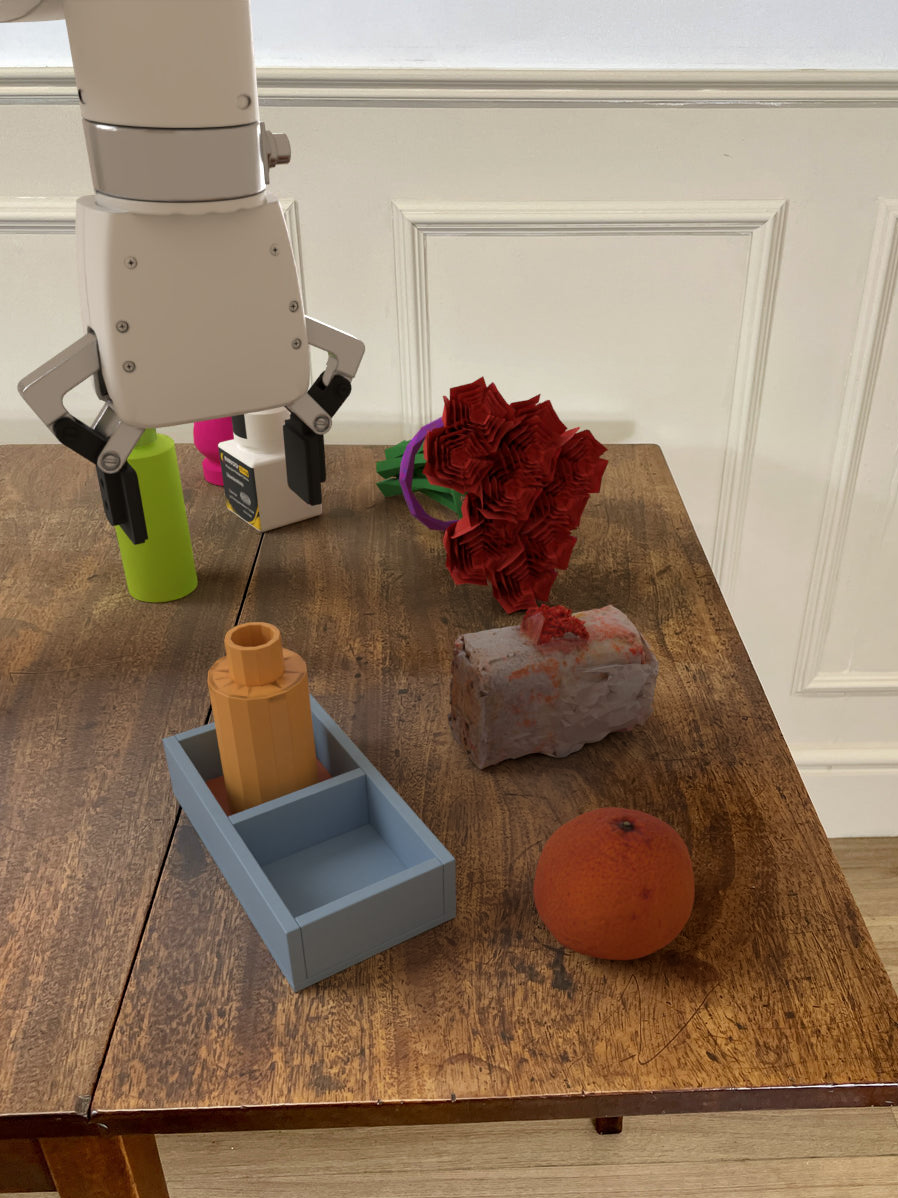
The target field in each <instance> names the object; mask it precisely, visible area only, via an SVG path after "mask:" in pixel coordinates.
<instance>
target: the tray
mask: <svg viewBox="0 0 898 1198" xmlns="http://www.w3.org/2000/svg"><path fill="white" fill-rule="evenodd" d="M309 696H310V705H311V715H312V724H313V733H314V743H315V752H316V762H317V771H318V780H319V783H317V784H314V785H312V786H309V787H306V788H304V789H301V790H298V791H296V792H293V793H290V794H288V795H285V796H282V797H280V798H277V799H274V800H272V801H269V802H266V803H263V804H261V805H258V806H255V807H253V808H250V809H247V810H245V811H242V812H239V813H237V814H234V815H232V813H231V810H230V806H229V803H228V797H227V792H226V786H225V780H224V774H223V768H222V763H221V757H220V751H219V745H218V739H217V734H216V728H215V722H214V721H212V722H210V723H207V724H204V725H201V726H198V727H195V728H191V729H188V730H185V731H183V732H179V733H176V734H173V735H170V736H167V737H164V738H162V740H161V741H162V744H163V749H164V755H165V758H166V759H165V760H166V765H167V768H168V773H169V778H170V785H171V786H172V792H173V796H174V797H175V799H176V800H177V802H178V804H179V805H180V807H181V809H182V810H183V812H184V814H185V815H186V817H187V818H188V819H189V822H190V823H191V825H192V826H193V828H194V830H195V831H196V833H197V835H198V836H199V838H200V840H201V841H202V843H203V845H204V846H205V848H206V850H207V851H208V853H209V854H210V856H211V858H212V859H213V861H214V863H215V864H216V866H217V868H218V870H219V871H220V873H221V874H222V876H223V877H224V879H225V881H226V882H227V884H228V886H229V888H230V889H231V891H232V893H233V894H234V895H235V897H236V899H237V901H238V902H239V904H240V905H241V907H242V909H243V910H244V912H245V913H246V915H247V917H248V919H249V920H250V922H251V923H252V926H253V927H254V928H255V930H256V932H257V933H258V935H259V937H260V938H261V940H262V942H263V943H264V945H265V946H266V948H267V951H269V953H270V955H271V956H272V958H273V960H274V961H275V963H276V965H277V966H278V968H279V969H280V971H281V973H282V974H283V976H284V978H285V979H286V980H287V983H288V985H289V986H290V988H291V989H292V991H293V993H297V992H300V991H301V990H304V989H306V988H308V987H310V986H312V985H314V984H317V983H319V982H321V981H323V980H325V979H327V978H329V977H332V976H334V975H336V974H338V973H341V972H342V971H345V970H346V969H348V968H349V969H350V968H351V967H353V966H355V965H357V964H359V963H362V962H363V961H366V960H367V959H370V958H372V957H375V956H376V955H378V954H380V953H382V952H385V951H387V950H389V949H391V948H393V947H395V946H397V945H400V944H402V943H404V942H406V941H408V940H410V939H413V938H414V937H416V936H419V935H421V934H423V933H425V932H427V931H429V930H432V929H433V928H436V927H439V925H442V924H444V923H446V922H448V921H451V920H452V919H455V918H457V880H456V879H457V877H456V873H457V872H456V858H455V857H454V856H453V855H452V853H451V852H450V851H449V850H448V849H447V848H446V847H445V845H444V844H443V843H442V842H441V841H440V840H439V839H438V838H437V836H436V835H435V834H434V833H433V832H432V831H431V830H430V828H429V827H428V826H427V825H426V824H425V823H424V821H423V820H422V819H421V818H420V816H418V815H417V814H416V812H415V811H414V810H413V809H412V808H411V807H410V805H409V804H407V802H406V801H405V799H403V797H402V796H401V795H400V794H399V793H398V792H397V790H396V789H395V788H394V787H393V786H392V785H391V784H390V783H389V782H388V780H387V779H386V778H385V777H384V776H383V774H381V772H380V771H379V770H378V769H377V768H376V767H375V766H374V764H373V763H372V762H371V761H370V760H369V759H368V757H366V755H365V754H364V753H363V752H362V751H361V749H359V748H358V746H357V745H356V744H355V743H354V741H352V740H351V738H350V737H349V736H348V734H347V733H346V732H344V730H343V729H342V728H341V727H340V726H339V725H338V724H337V722H336V721H335V720H334V719H333V718H332V716H331V715H330V714H329V713H328V712H327V711H326V710H325V709H324V708H323V707H322V705H321V704H320V703H319V702H318V700H317V699H316V698H315V697H314V696H313V695H312V694H311V692H309Z"/></svg>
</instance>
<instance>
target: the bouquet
mask: <svg viewBox="0 0 898 1198" xmlns="http://www.w3.org/2000/svg"><path fill="white" fill-rule="evenodd" d="M541 396H542V395H541V393H539V394H536V395H535V396H532V397H530V398H528V399H525V400H519V401H518V400H517V401H514V402H513V401H512V402H510V403H509V402H507V401H506V399H505V397H504V396H503V395H502V394H501V392H500V390H499V389H498V387H497V386H496V384H495V382H494V381H491V383H490V384H489V385H487V383H486V380H485V377H484V375H483V376H481V377H479V378H477V379H476V380H474V381H473V382H470V383H465V384H461V385H457V386H453V387H449V398H448V397H447V395H442V399H443V403H444V405H443V409H442V415H441V416H440V417H438V418H436V419H434V420H432V421H430V422H429V423H426V424H425V425H423V426H421V427H420V429H419V430H418V431H417V432H416V433H415V435H414V436H413V437H412V438H411V439H408V440H406V439H404V440H401V441H400V442H398V443H397V444H395V445H393V446H391V447H388V448H385V449H384V457H385V459H384V460H380V461H375V464H376V465H375V472H376V474H378V475H379V476H380V477H382V479H384V480H381V481H378V482H375V485H376V486H377V488H378V489H379V491H380V493H381V494H382V495H383V496H384V498H390V497H397V496H401V495H403V497H404V500H405V502H406V503H405V504H406V505H407V508H408V510H409V512H410V516H412V517H413V518H415V519H416V520H417V521H419V523H421V524H423V526H425V527H426V528H428V529H429V530H431V531H438V532H444V535H443V538H442V543H443V544H442V545H443V548H444V550H445V552H446V554H445V568H446V569H447V570H448V572H449V575H450V576H449V577H451V578H452V581H453V582H454V584H455V585H456V586H457V585H466V584H469V585H475V586H477V585H478V586H483V587H488V586H489V584H488V583H490V584H491V590H492V597H493V598H494V599H495V600H496V601H497V603H499V605H500V607H501V608H503V610H504V611H505V612H506V613H507V615H509V614H511V613H514V612H517V611H520V610H528V609H529V608H536V607H539V606H538V603H537V601H540V602H544V603H548V602H549V598H550V593H551V589H552V587H553V586H554V584H555V581H556V579H557V577H558V576H559V571H557V570H562V571H567V569H568V567H569V564H570V560H571V557H572V553H573V549H574V547H575V545H576V544H577V542H578V537H576V536H574V535H572V534H573V533H572V532H571V531H574V530H578V529H579V528H580V525H581V519H582V515H583V513H584V510H585V508H586V506H587V504H588V502H589V499H590V498H592V497H591V494H600V492H601V487H602V481H603V476H604V474H605V472H606V469H607V467H608V466H609V465H608V464H609V459H605V458H603V457H602V458H601V456H602V455H604V454H605V453H606V452H608V451H609V449H608V448H607V447H606V446H605V445H603V443H601V442H600V441H599V440H597V438H595V436H594V435H593V433H592V431H591V430H590V429H587V428H586V429H584V430H581V431H579V430H580V429H581V427H580V426H577V427H573V428H570V429H568V427H567V425H565V424H564V423H563V421H562V420H561V419H560V417H559V415H558V413H557V412H556V410H555V409H554V406H553V404H552V402H551V400H550V399H545V400H544V401H542V402H540V400H541ZM578 431H579V432H578ZM415 493H419V494H422V495H424V496H426V497H428V498H430V499H431V500H433V501H435V502H437V503H439V504H441V505H442V506H444V507H446V508H447V509H449V510H451V511H452V512H454V513H456V514H457V516H458V519H453V520H447V521H444V520H441V519H438V518H436V517H433V516H431V515H430V514H429V513H427V512H426V510H425V509H424V507H423V506H422V504H421V503H420V501H419V499H418V498H417V497H416V495H415ZM461 497H464V499H463V501H462V499H461ZM536 600H537V601H536Z"/></svg>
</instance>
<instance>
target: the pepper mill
mask: <svg viewBox="0 0 898 1198" xmlns="http://www.w3.org/2000/svg"><path fill="white" fill-rule="evenodd" d="M192 435H193V444H194V446H195V449H196V450H198V452H199V453H200V454H201V455H203V457H204V459H202V462H201V465H202V472H203V477H204V479H205V481H206V482H208V483H210V484H211V485H215V486H218V487H219V486H220V487H224V484H223V477H222V470H221V463H220V456H219V449H218V444H219V443H220V442H224V441H228V440H233V439H234V434H233V427H232V419H231V416H230V417H224V418H218V419H212V420H206V421H200V422H194V423H193V429H192Z"/></svg>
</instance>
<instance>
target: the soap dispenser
mask: <svg viewBox="0 0 898 1198" xmlns="http://www.w3.org/2000/svg"><path fill="white" fill-rule="evenodd" d="M127 462H128V463H129V464H130V465H131V466H132V467H133V469H134V470H135V471H136V473H137V476H138V481H139V487H140V493H141V499H142V505H143V510H144V516H145V522H146V528H147V534H148V539H147V540H145V543H141V544H137V545H134V544H133V543H132V541H131V540H130V539H129V538H128V536H127V535H126V534H125V532H124V531H123V530H122V528H121V527H120V526H119V525H116V526H114V529H115V533H116V537H117V543H118V548H119V552H120V557H121V562H122V566H123V571H124V576H125V581H126V585H127V590H128V593H129V595H130V596H131V597H132V598H134V599H135V600H138V601H140V602H144V603H166V602H167V603H168V602H172V601H177V600H179V599H182V598H184V597H187V596H188V595H190V594H191V593H193V592H194V591H195V590H196V588H197V587H198V583H199V582H198V575H197V570H196V564H195V557H194V551H193V546H192V539H191V533H190V528H189V522H188V516H187V515H188V514H187V511H186V510H187V509H186V505H185V504H186V503H185V497H184V492H183V486H182V479H181V474H180V469H179V468H180V467H179V462H178V456H177V450H176V445H175V440H174V439H173V438H172V437H171V436H169V435H166V434H163V433H161V432H160V433H159V432H157V428H152V429H146V430H145V431H144V433H143V434H142V436H141V438H140V439H139V441H138V442H137V444H136V446H135V447H134V449H133V450H132V452H131V454H130V455H129V457H128V458H127Z"/></svg>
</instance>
